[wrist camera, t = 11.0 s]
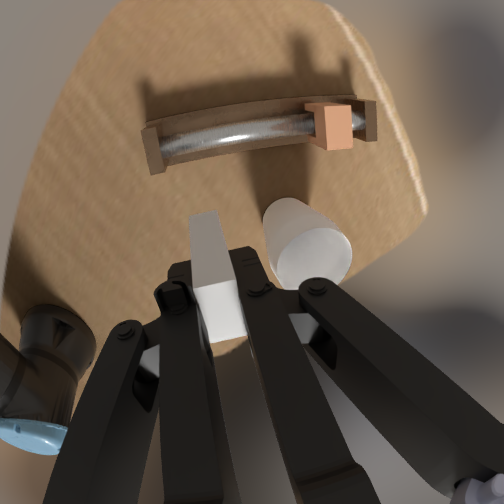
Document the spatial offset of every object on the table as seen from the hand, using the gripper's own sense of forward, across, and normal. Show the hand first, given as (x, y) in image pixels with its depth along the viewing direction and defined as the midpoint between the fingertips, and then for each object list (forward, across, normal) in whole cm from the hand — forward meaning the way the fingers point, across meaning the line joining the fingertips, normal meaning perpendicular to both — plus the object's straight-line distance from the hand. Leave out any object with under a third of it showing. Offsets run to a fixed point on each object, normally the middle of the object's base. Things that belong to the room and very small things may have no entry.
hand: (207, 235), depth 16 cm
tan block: (+19, +15, +3) cm, 24 cm away
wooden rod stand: (+23, +8, +3) cm, 24 cm away
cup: (+23, +10, -11) cm, 27 cm away
